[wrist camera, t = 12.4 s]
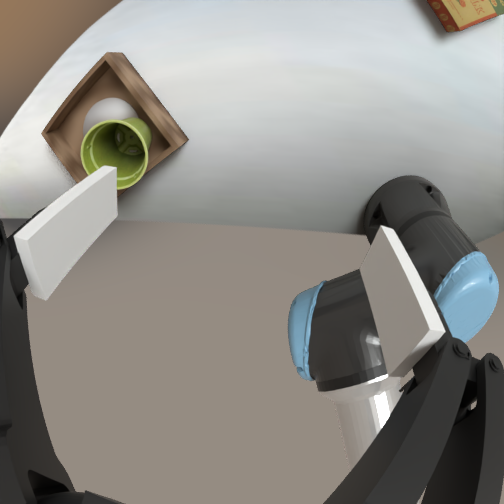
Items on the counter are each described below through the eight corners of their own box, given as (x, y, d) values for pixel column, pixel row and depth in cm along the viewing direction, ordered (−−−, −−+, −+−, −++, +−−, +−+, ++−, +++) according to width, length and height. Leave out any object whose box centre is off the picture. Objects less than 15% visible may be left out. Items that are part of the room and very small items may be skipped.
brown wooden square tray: (188, 139, 39) (179, 147, 35) (113, 200, 46) (100, 212, 42) (122, 52, 31) (106, 52, 28) (57, 126, 38) (41, 133, 34)
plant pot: (162, 103, 35) (145, 116, 28) (165, 163, 41) (150, 189, 34) (103, 109, 34) (76, 124, 28) (109, 166, 40) (87, 191, 33)
